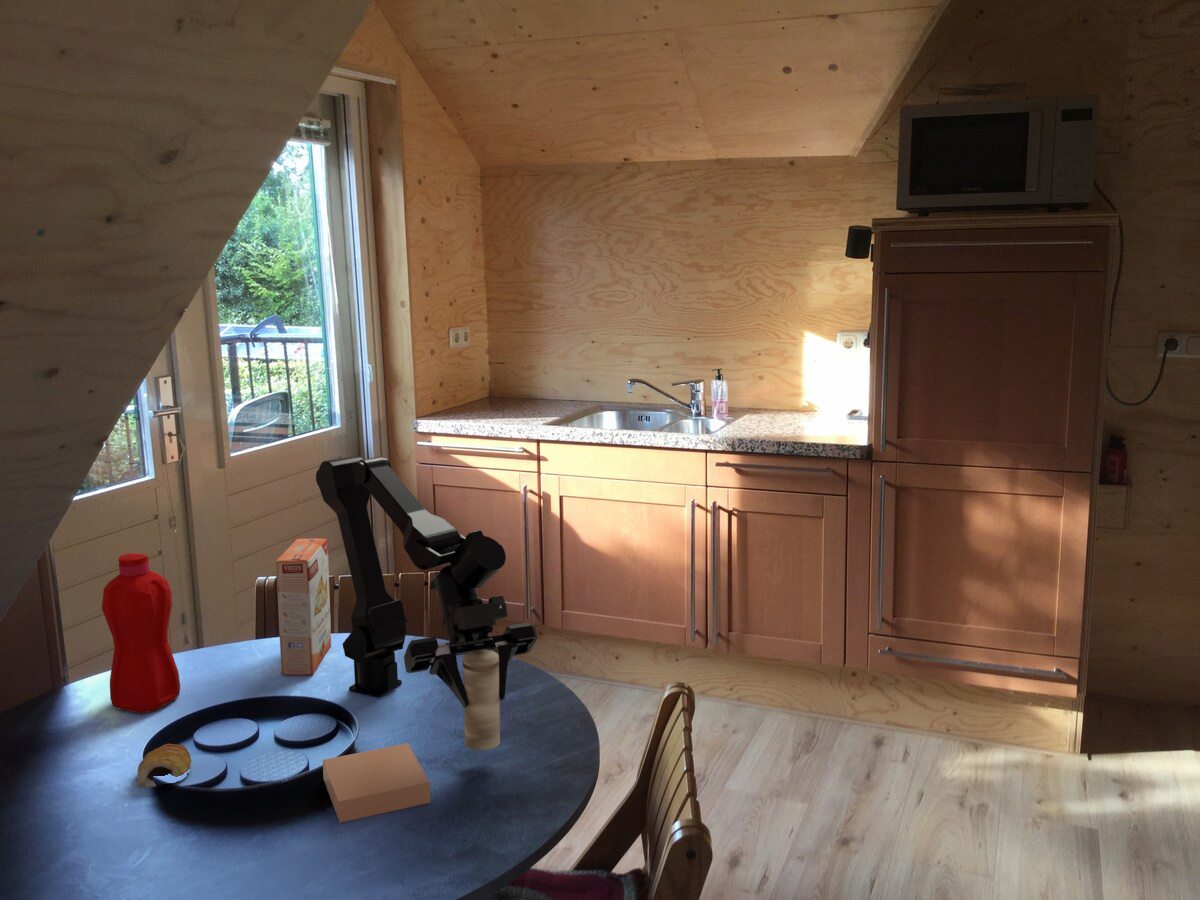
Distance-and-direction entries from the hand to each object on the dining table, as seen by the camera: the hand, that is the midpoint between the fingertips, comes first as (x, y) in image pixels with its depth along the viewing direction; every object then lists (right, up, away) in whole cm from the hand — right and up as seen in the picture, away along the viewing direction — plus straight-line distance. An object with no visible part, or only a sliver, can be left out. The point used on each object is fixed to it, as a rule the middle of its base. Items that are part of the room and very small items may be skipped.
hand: (484, 702), depth 147 cm
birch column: (-1, -6, +3) cm, 7 cm away
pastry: (-45, -10, 0) cm, 46 cm away
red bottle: (-57, -5, +24) cm, 62 cm away
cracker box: (-36, -2, +40) cm, 54 cm away
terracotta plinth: (-14, -11, -4) cm, 19 cm away
